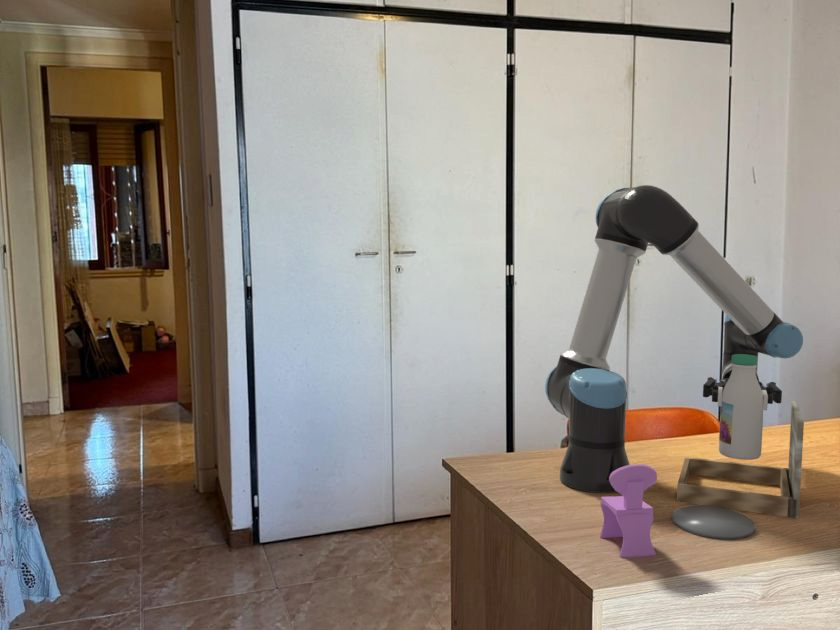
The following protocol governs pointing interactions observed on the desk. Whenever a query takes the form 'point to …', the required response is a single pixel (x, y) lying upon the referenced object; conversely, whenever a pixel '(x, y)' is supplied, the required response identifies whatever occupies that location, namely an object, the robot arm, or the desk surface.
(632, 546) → the toy chair
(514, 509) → the desk surface
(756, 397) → the milk bottle
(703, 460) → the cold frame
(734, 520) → the pad
